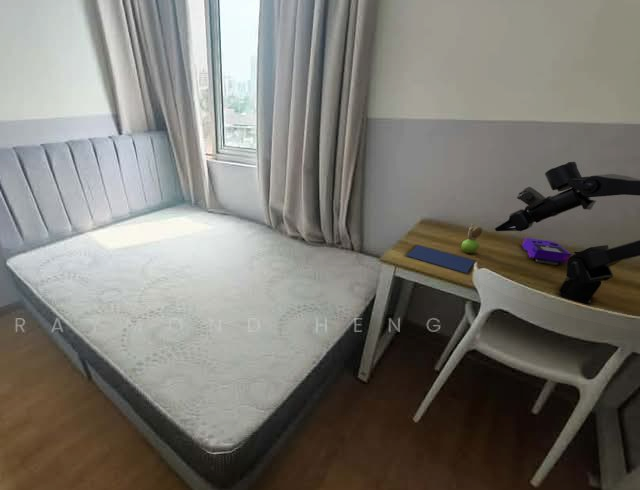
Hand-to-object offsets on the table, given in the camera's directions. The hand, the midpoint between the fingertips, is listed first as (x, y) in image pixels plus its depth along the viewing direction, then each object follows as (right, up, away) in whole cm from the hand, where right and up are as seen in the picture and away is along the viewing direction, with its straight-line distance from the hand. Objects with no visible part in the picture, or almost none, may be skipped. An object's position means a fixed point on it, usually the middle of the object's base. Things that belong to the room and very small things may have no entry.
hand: (501, 226), depth 108 cm
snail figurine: (-4, -8, +12) cm, 15 cm away
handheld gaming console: (+22, -9, +8) cm, 25 cm away
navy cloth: (-16, -11, +8) cm, 21 cm away
